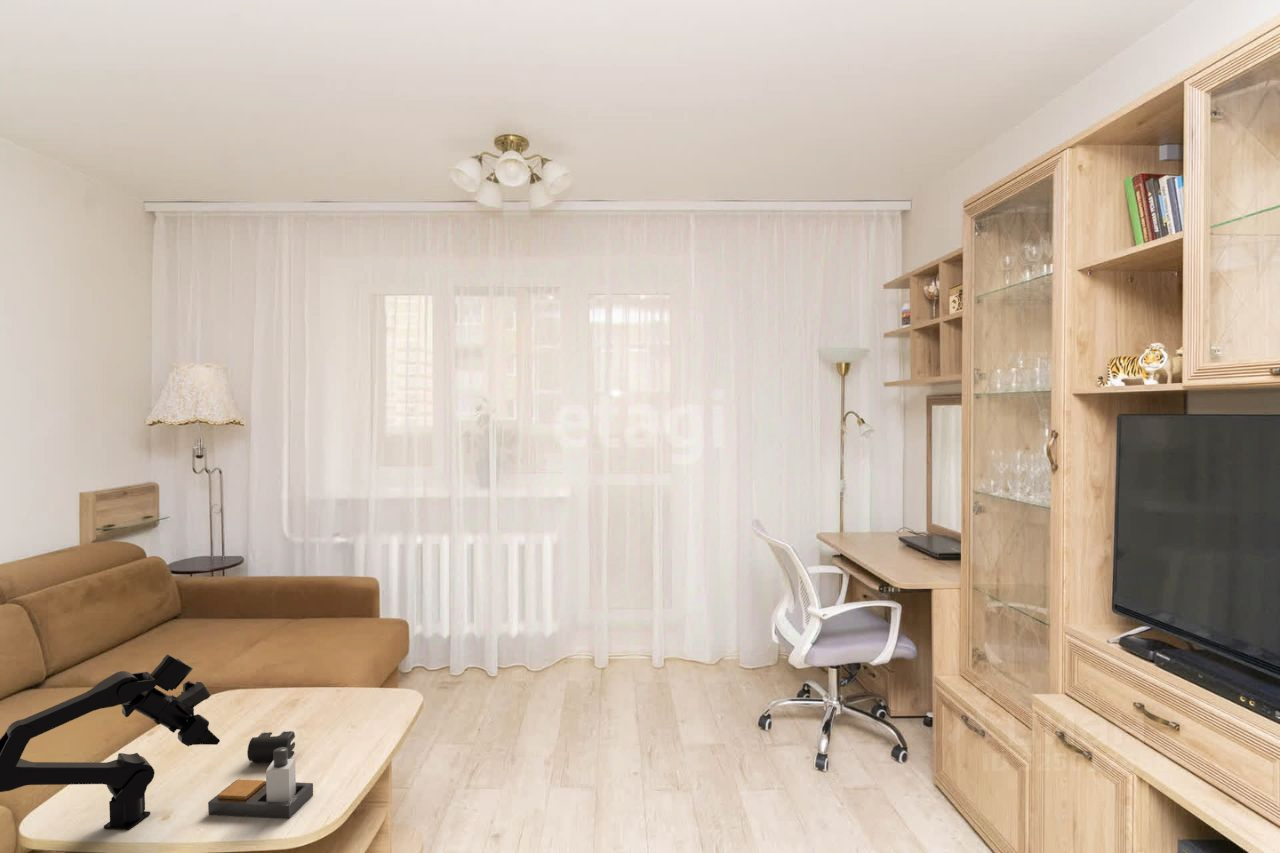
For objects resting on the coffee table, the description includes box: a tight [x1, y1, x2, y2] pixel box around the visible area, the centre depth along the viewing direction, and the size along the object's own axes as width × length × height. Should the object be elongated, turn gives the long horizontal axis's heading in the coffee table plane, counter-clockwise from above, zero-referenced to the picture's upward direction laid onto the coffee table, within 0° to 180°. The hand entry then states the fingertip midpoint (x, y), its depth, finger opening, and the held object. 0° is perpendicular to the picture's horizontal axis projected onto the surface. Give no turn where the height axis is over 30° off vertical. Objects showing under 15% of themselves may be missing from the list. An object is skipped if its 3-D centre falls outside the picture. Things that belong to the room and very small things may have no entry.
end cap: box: [247, 730, 296, 763], centre depth 192 cm, size 10×7×7 cm
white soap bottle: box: [265, 747, 297, 803], centre depth 169 cm, size 5×5×13 cm
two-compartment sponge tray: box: [207, 778, 314, 820], centre depth 170 cm, size 10×20×4 cm, turn 84°
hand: (212, 736), depth 176 cm, fingers open, 9 cm apart
